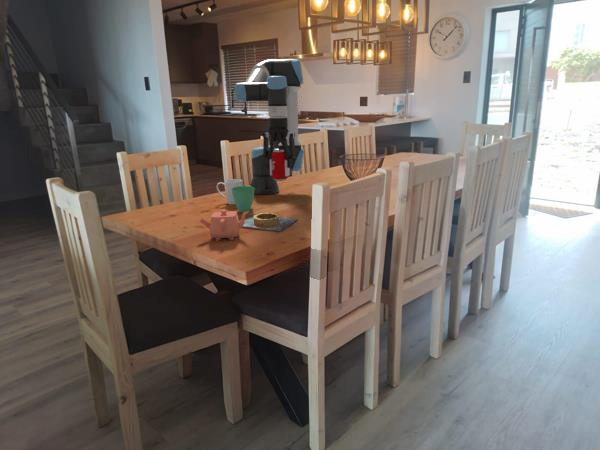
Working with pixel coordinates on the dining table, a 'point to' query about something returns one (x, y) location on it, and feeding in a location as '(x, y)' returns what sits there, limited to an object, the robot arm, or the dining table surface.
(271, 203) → the dining table surface
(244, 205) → the mug
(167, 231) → the dining table surface
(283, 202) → the dining table surface
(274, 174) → the beverage can
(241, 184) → the mug
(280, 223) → the grey can holder
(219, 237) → the teapot
